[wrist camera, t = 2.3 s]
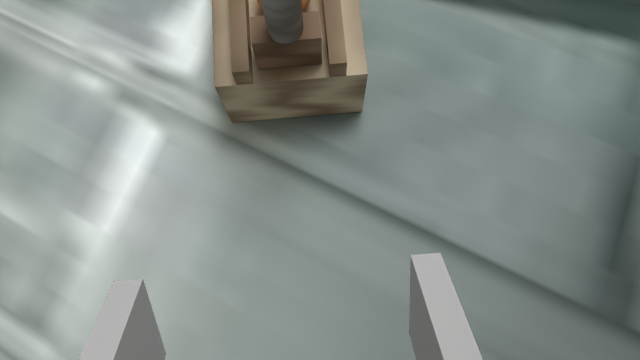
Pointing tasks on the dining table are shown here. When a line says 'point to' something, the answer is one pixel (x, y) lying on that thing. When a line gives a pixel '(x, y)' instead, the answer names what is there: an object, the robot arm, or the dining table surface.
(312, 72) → the launcher
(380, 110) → the dining table surface
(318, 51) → the plunger
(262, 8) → the ball
